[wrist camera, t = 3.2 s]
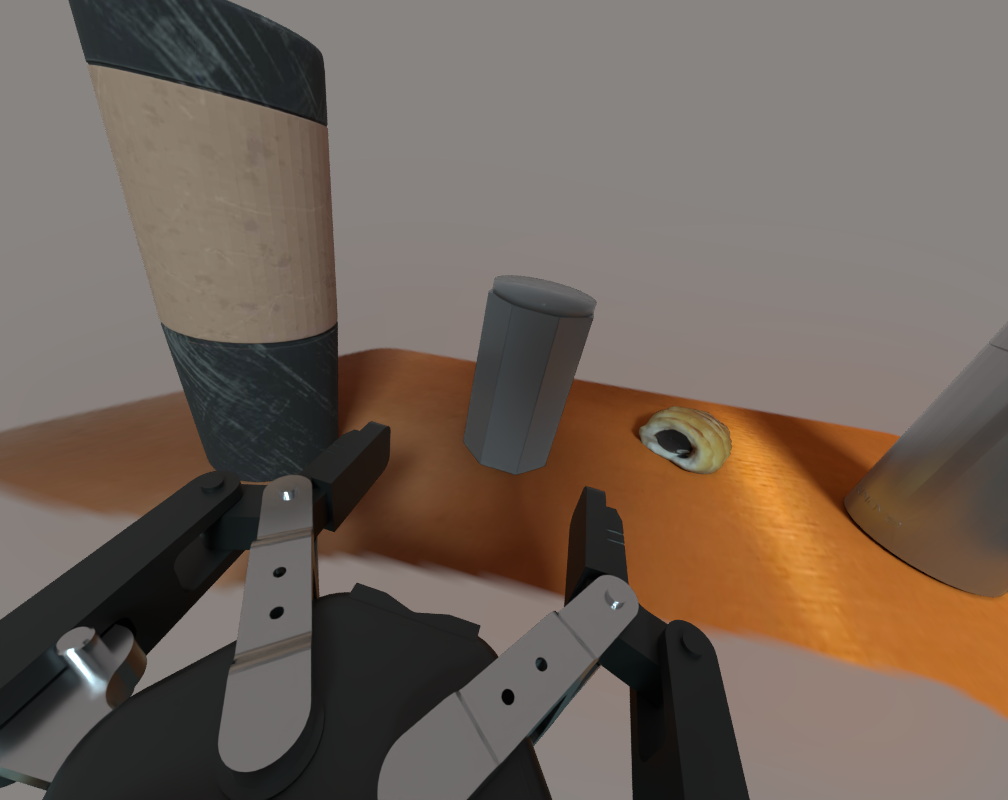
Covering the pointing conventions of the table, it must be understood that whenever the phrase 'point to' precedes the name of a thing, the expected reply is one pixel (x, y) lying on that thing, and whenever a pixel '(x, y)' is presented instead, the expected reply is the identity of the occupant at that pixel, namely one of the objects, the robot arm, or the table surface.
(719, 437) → the pastry
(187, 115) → the travel mug
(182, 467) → the table surface
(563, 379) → the canister
